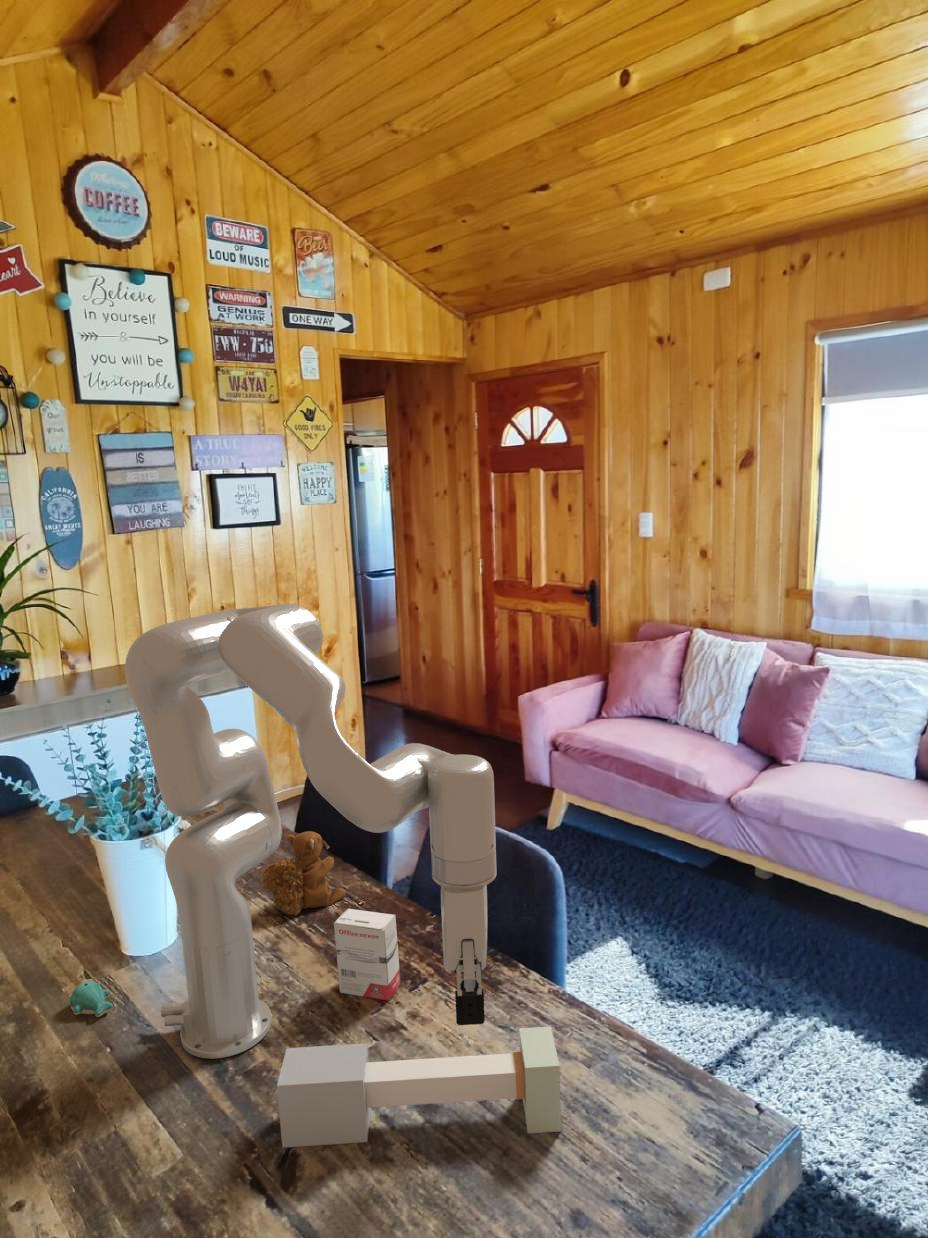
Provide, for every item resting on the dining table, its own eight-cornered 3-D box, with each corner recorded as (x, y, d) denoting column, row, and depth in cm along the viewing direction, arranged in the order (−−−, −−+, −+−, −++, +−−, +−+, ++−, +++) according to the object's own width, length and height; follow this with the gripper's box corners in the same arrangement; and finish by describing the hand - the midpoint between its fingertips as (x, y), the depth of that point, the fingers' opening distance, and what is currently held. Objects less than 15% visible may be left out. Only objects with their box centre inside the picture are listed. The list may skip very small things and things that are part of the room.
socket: (527, 1133, 97) (525, 1068, 96) (521, 1090, 104) (519, 1028, 103) (561, 1131, 97) (559, 1065, 96) (552, 1088, 104) (551, 1026, 103)
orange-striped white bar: (345, 1110, 98) (343, 1083, 97) (348, 1088, 101) (346, 1062, 101) (545, 1097, 99) (544, 1071, 98) (541, 1076, 102) (541, 1050, 101)
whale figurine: (99, 992, 129) (96, 970, 129) (124, 1008, 125) (121, 986, 124) (62, 1011, 125) (59, 989, 124) (87, 1029, 120) (84, 1006, 120)
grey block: (282, 1147, 97) (276, 1086, 95) (291, 1107, 103) (286, 1048, 102) (367, 1142, 97) (362, 1080, 96) (371, 1102, 103) (367, 1043, 102)
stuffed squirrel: (350, 895, 156) (345, 830, 154) (291, 929, 145) (285, 859, 143) (314, 881, 162) (309, 818, 160) (256, 912, 151) (250, 845, 149)
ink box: (402, 983, 128) (398, 913, 126) (389, 1002, 123) (384, 930, 121) (352, 974, 130) (347, 906, 129) (337, 993, 126) (332, 922, 124)
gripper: (431, 832, 104) (437, 956, 106) (431, 902, 86) (437, 1047, 89) (491, 829, 104) (494, 953, 107) (502, 898, 87) (506, 1044, 90)
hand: (468, 996), depth 98 cm, fingers open, 9 cm apart
